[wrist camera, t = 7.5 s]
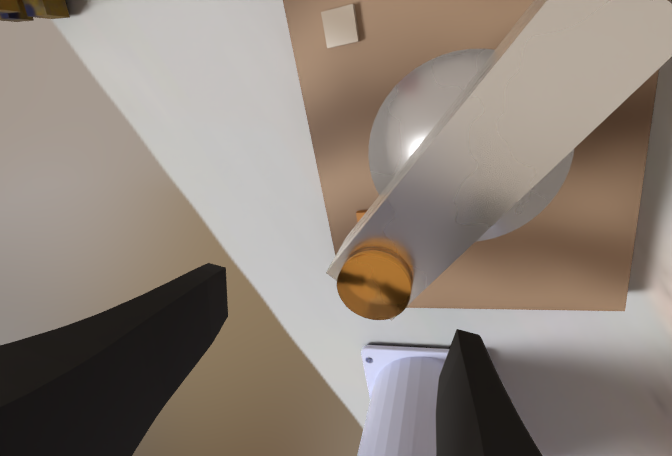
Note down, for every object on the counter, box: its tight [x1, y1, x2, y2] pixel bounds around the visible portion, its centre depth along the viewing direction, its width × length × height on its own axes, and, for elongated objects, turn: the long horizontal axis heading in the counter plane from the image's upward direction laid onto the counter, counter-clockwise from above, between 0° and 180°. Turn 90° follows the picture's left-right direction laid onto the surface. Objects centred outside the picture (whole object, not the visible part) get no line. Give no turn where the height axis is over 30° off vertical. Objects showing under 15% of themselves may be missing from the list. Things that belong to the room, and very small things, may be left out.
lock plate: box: [283, 0, 669, 311], centre depth 15 cm, size 20×14×6 cm
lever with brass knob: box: [326, 0, 672, 320], centre depth 10 cm, size 9×6×5 cm, turn 148°
